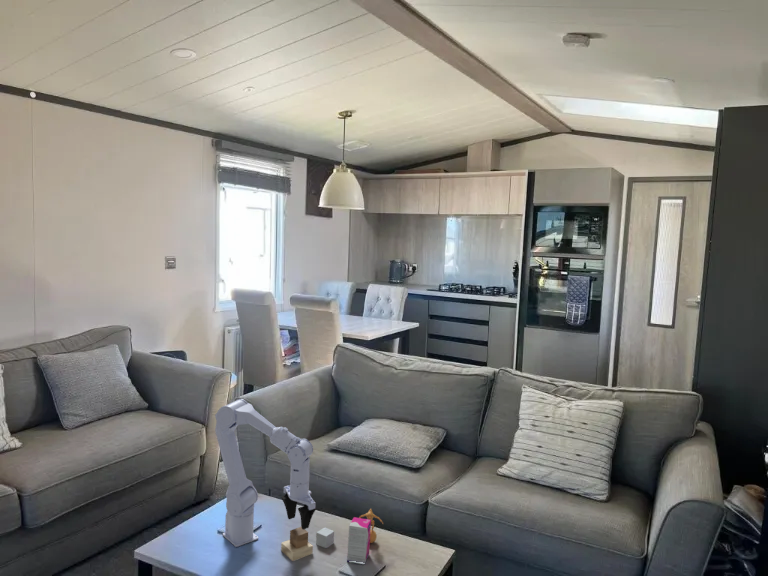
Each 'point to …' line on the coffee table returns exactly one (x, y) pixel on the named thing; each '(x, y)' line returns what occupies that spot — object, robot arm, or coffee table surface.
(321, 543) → the grey cube
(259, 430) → the robot arm
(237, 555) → the coffee table surface
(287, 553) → the beech slab
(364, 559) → the supplement box
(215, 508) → the coffee table surface
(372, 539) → the figurine
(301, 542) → the walnut cube
